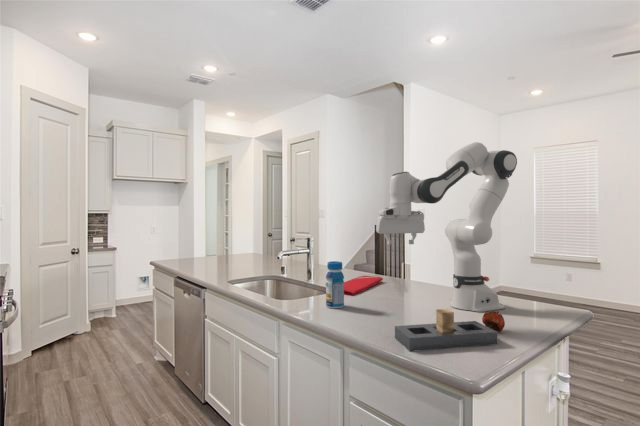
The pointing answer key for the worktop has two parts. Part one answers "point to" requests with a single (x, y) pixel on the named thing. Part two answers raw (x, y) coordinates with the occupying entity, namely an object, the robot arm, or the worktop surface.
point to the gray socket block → (445, 336)
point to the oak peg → (444, 320)
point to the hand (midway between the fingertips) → (400, 244)
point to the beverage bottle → (334, 285)
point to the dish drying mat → (360, 284)
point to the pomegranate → (493, 320)
